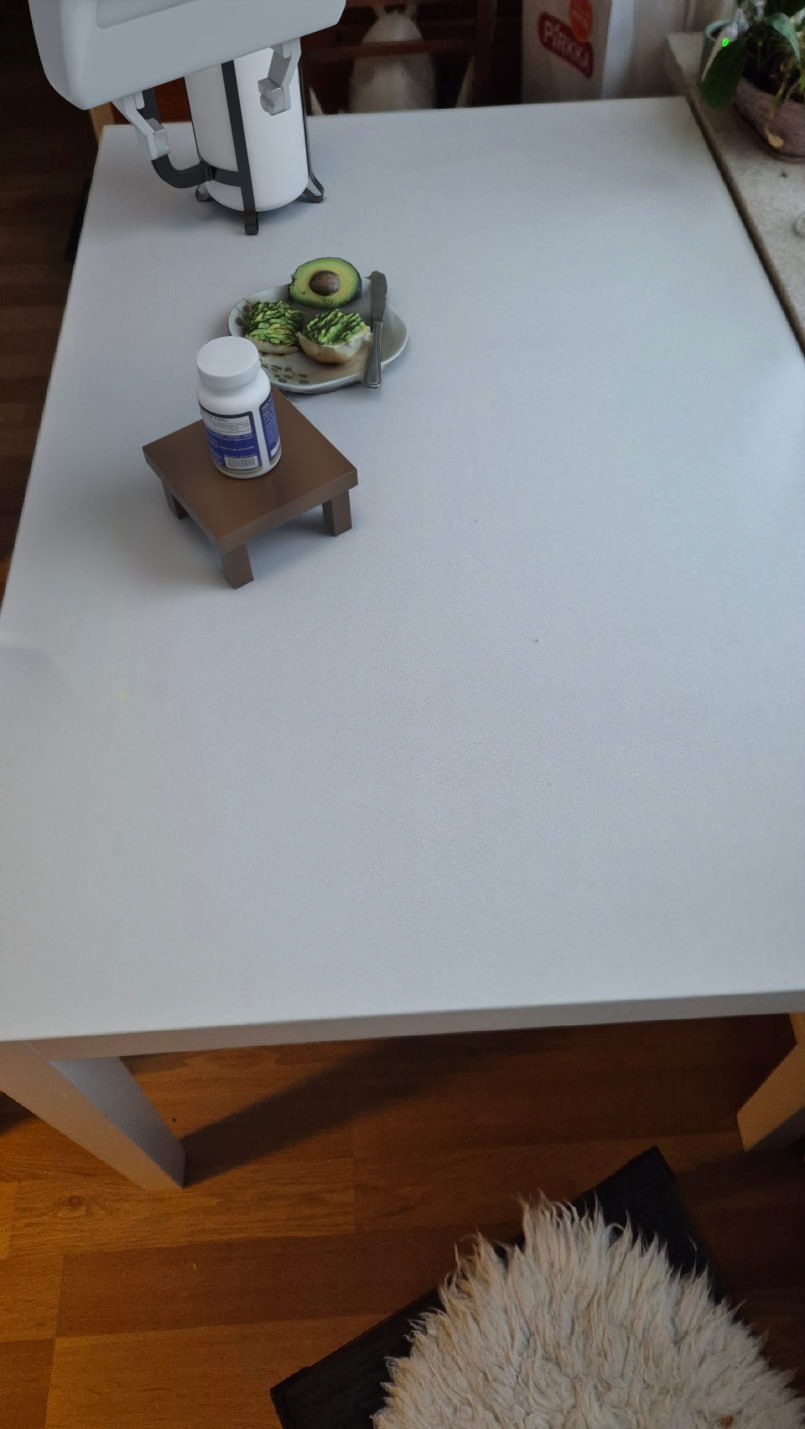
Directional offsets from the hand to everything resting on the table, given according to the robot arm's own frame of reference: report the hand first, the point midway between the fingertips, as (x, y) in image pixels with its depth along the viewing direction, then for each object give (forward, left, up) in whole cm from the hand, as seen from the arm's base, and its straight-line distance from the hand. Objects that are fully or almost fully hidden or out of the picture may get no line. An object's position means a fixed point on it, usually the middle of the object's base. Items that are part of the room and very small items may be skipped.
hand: (217, 131), depth 69 cm
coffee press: (+20, +37, -29) cm, 51 cm away
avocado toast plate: (+13, +12, -29) cm, 34 cm away
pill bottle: (-5, -6, -22) cm, 24 cm away
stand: (-5, -6, -29) cm, 30 cm away
